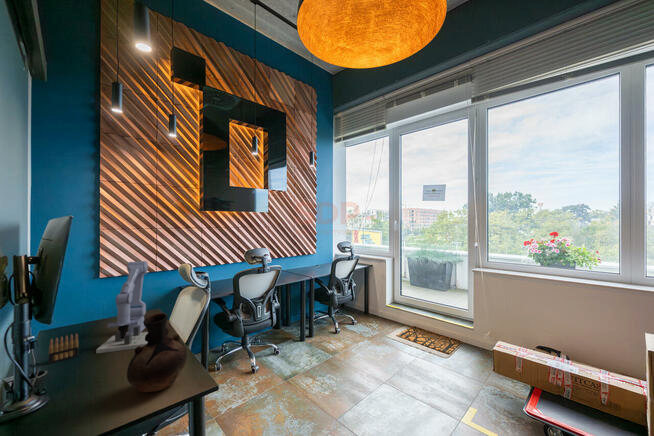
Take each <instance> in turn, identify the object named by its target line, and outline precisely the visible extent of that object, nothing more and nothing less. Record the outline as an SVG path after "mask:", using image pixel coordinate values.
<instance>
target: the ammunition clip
mask: <svg viewBox="0 0 654 436" xmlns="http://www.w3.org/2000/svg"><path fill="white" fill-rule="evenodd" d="M48 346H49V347H48V361H47V365H52V364H56V363H60V362H63V361H68V360H71V359H75V358H79V335H78V333H75V336H73V334H70V337H69V336H68V335H65V337H64V338H63V336H60V339H59V338H58V337H55V340H54V339H53V338H50V340H49V345H48Z"/></svg>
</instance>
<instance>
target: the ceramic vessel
mask: <svg viewBox="0 0 654 436" xmlns="http://www.w3.org/2000/svg"><path fill="white" fill-rule="evenodd" d="M167 320H168V314H167V313H164V312H161V313H154V314H151V315H149V316H147V317H146V318H144V321H143V323H144V327H146V328H145V329H146V330H147V331H146V332H148V333H147V335H146V336H145V341H147V342H148V343H147V344H145V345H144V346H143V347H141V346H139V347H137V348H136V349H134V355H133V357H132V358H131V360H130V361H129V363H128V366H127V370H126V371H127V372H126V378H127V381H128V382H129V384H130V386H131V387H132V388H133V389H134V390H136V391H138V392H141V393H153V392H158V391H162V390H163V389H166V388H168V387H169V386H171V385H172V384H173V383H174V382H176V380H177V379H178V378H179V376H180V375H181V373H182V372H183V371H184V368H185V366H186V364H187V359H188V353H187V348H186V346H185V345H184V343H183V342H182V341H181V340H180V339H181V337H180V336H179V334H178V333H175V334H174V335H173V336H172V337H169V336H168V334H169V329H168V327H167V322H168V321H167Z"/></svg>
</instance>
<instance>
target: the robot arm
mask: <svg viewBox="0 0 654 436" xmlns="http://www.w3.org/2000/svg"><path fill="white" fill-rule="evenodd" d="M148 268H149V264H148V262H147V260H144V261H129V262H128V263H127V265H126V269H127V270H126V271H127V272H128V274H127V279H126V282H124V283H123V284H122V286H121V290H120V292H119V294H117V295H116V297H115V305H116V308H117V318H116V319H117V320H116V321H115V322H109V323H108V324H107V329H109V328H115V327H116V328H117V327H118V328H117V330H118V331H120V333H121V339H124V336H125V335H126V334H134V327H135V326H140V333H143V330H144V329H147V328H146V327H145V325H144V323H143V321H144V320H145V315H146V312H147V304H146V302H144V301H142V294H143V285H144V277H145V275H147V274H148Z"/></svg>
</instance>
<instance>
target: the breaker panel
mask: <svg viewBox="0 0 654 436" xmlns="http://www.w3.org/2000/svg"><path fill="white" fill-rule="evenodd" d="M147 333H148V331H144V332H143V331H142V332H141V333H140V334H139V335H134V334H132V342H131V343H130V344H124V339H122V340H121V341H115V335H112V336H111V337H110V338H108V339H107V340H106V341H105V342H104V343H102V344H101V345H100V346H99V347H98V348H97V349H96V351H95V352H96V353H95V354H103V353H111V352H121V351H125V350H126V351H127V350H135V349H136V348H137V347H139V346H141V347H143V346H144V345H145V344H147V343H148V342H147V341H145V336H146V335H147Z"/></svg>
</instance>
